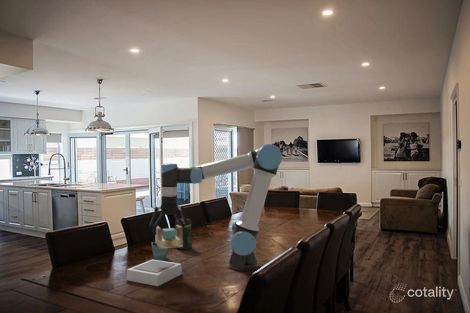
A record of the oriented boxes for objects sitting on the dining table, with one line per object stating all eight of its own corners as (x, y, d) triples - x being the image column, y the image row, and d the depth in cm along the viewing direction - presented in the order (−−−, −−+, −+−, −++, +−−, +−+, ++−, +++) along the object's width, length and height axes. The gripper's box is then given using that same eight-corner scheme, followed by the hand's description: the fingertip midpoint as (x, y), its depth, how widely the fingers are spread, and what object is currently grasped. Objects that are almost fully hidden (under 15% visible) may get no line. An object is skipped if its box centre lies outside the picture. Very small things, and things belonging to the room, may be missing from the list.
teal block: (173, 236, 176) (173, 228, 176) (175, 238, 171) (175, 230, 171) (162, 237, 174) (162, 228, 174) (164, 239, 169) (164, 231, 169)
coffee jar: (193, 247, 225) (193, 218, 225) (185, 250, 218) (185, 220, 218) (182, 245, 230) (181, 216, 230) (173, 248, 223) (173, 218, 223)
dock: (181, 274, 174) (181, 263, 174) (157, 286, 158) (157, 274, 158) (152, 269, 182) (152, 258, 182) (126, 280, 166) (126, 268, 166)
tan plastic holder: (177, 241, 180) (177, 224, 180) (182, 247, 169) (183, 229, 169) (155, 243, 176) (155, 225, 176) (159, 249, 165) (159, 230, 165)
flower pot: (152, 262, 194) (152, 245, 194) (151, 257, 203) (151, 241, 203) (168, 260, 197) (168, 244, 197) (167, 256, 205) (167, 240, 205)
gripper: (190, 193, 180) (190, 237, 180) (143, 195, 172) (143, 240, 172) (194, 195, 174) (194, 240, 173) (145, 197, 165) (145, 244, 165)
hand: (168, 240), depth 173 cm, fingers closed on tan plastic holder, 11 cm apart
